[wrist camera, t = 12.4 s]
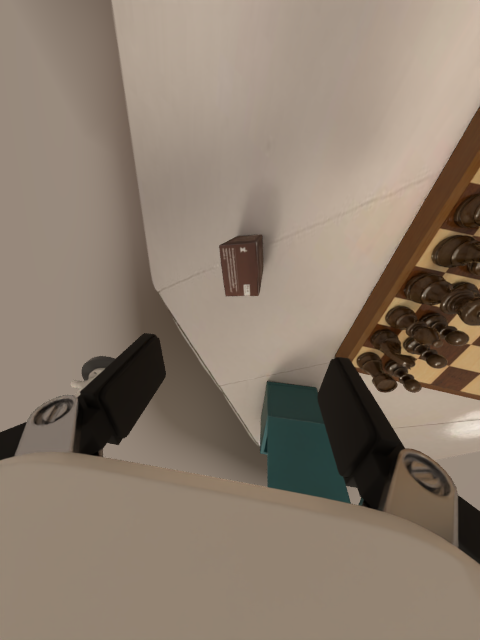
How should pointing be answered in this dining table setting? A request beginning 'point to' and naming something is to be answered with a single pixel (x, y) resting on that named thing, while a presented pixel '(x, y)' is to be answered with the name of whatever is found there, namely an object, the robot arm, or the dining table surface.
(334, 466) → the lid
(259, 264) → the box
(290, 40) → the dining table surface
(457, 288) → the chess set
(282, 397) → the chest
